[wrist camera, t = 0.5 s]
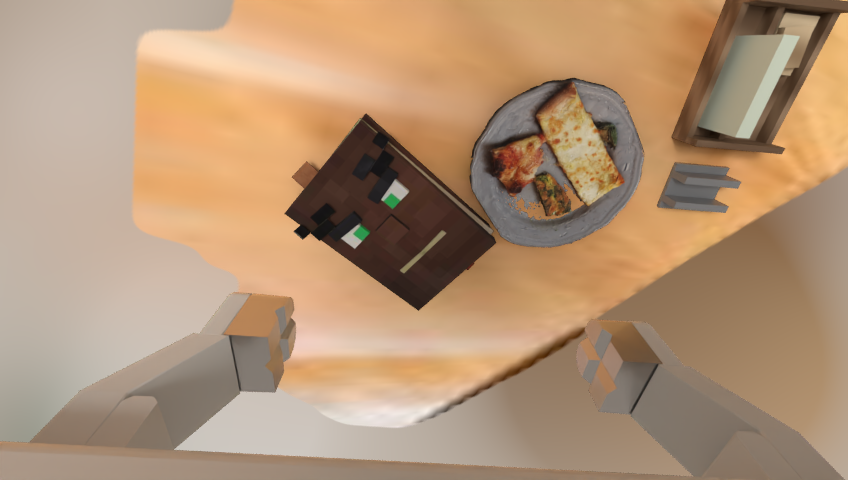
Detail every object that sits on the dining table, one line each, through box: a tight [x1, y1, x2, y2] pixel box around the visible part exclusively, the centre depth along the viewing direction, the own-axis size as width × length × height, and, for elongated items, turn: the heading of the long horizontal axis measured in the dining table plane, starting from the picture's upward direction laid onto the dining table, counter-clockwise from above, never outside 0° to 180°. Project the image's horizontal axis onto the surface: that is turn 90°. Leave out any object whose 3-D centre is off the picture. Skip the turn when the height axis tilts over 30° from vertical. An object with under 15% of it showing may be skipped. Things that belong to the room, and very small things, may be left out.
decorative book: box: [284, 114, 496, 311], centre depth 55 cm, size 19×8×30 cm
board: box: [698, 34, 800, 139], centre depth 45 cm, size 11×2×7 cm, turn 175°
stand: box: [657, 162, 741, 213], centre depth 55 cm, size 7×8×4 cm
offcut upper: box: [776, 26, 815, 68], centre depth 45 cm, size 4×3×1 cm
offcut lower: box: [773, 13, 820, 76], centre depth 46 cm, size 6×4×1 cm
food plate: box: [470, 78, 644, 248], centre depth 54 cm, size 25×23×4 cm
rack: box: [672, 0, 848, 154], centre depth 47 cm, size 17×12×5 cm
